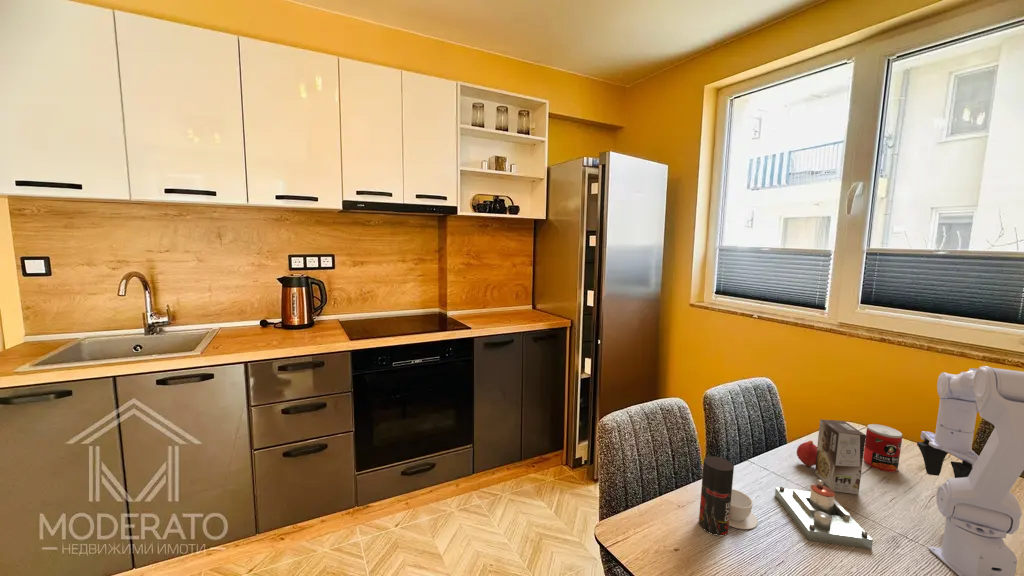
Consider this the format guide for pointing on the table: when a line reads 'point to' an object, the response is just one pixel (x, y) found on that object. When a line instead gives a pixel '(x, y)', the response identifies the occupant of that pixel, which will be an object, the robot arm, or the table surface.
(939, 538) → the table surface
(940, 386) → the robot arm
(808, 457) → the onion
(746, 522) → the teacup
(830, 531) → the mounting plate with knobs
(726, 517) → the deodorant
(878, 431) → the canned food
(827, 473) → the coffee box
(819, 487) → the spout can
